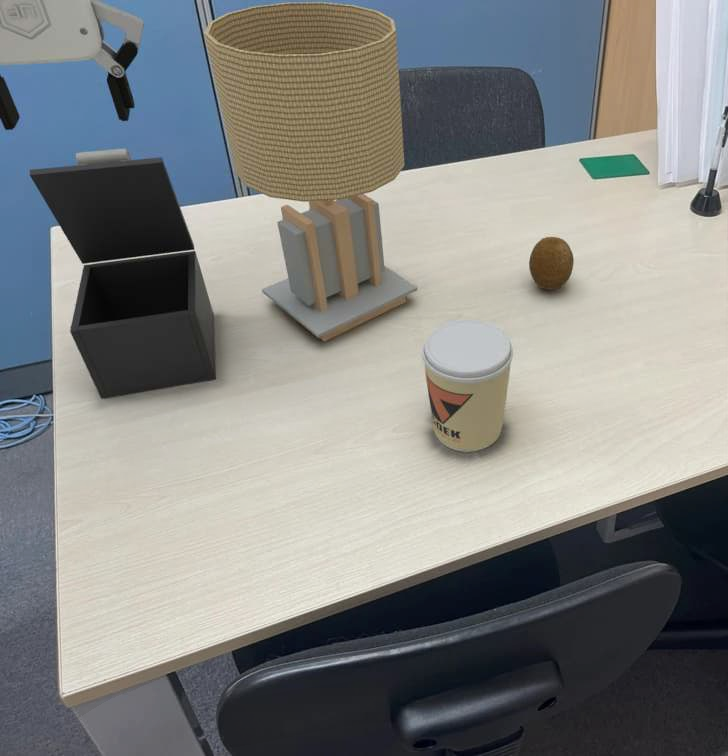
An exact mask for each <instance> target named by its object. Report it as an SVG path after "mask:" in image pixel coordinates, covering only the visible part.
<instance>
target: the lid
mask: <svg viewBox="0 0 728 756" xmlns="http://www.w3.org/2000/svg"><path fill="white" fill-rule="evenodd" d="M75 158H76V159H75V160H76V163H77V164H75V165H65V166H56V167H45V168H34V169H29V177H30V179H31V181H32V182H33V184H34V185H35V187H36V188H37V190H38V192H39V193H40V195H41V197H42V199H43V200H44V202H45V204H46V205H47V207H48V209H49V210H50V212H51V214H52V216H54V219H55V220H56V222H57V224H58V225H59V228H60V229H61V230H62V232H63V234H64V235H65V237H66V239H67V240H68V242H69V244H70V245H71V247H72V249H73V251H74V253H75V254H76V255H77V258H78V259H79V261H80V262H81V264H82V265H87V264H95V263H103V262H111V261H119V260H126V259H134V258H142V257H150V256H158V255H166V254H174V253H181V252H189V251H195V243H194V241H193V238H192V236H191V233H190V230H189V227H188V225H187V222H186V219H185V217H184V215H183V211H182V209H181V206H180V203H179V200H178V197H177V195H176V192H175V189H174V187H173V184H172V180H171V178H170V176H169V173H168V171H167V168H166V165H165V162H164V160H163V157H162V156H161V157H150V158H141V159H140V158H139V159H132V158H131V154H130V152H129V149H128V148H126V147H125V148H115V149H105V150H103V149H102V150H94V151H92V150H91V151H82V152H76V153H75Z"/></svg>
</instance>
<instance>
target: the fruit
mask: <svg viewBox="0 0 728 756" xmlns="http://www.w3.org/2000/svg"><path fill="white" fill-rule="evenodd" d="M573 254H574V253H573V251H572V249H571V247H570V244H568V243H567V241H565V240H564V239H563V238H560V237H557V236H546V237H544V238H543V237H542V239H540V240H539V241H538V242H537V243H536V244H534V247H533V248H532V250H531V254H530V256H529V262H528V268H529V272H530V276H531V278H532V280H533V282H534V283H535V284H536V285H537V286H538V287H539V288H541V289H545V290H557V289H560V288H561V287H563V286H564V285H565V284H566V283H567V282H568V281H569V279H570V278H571V275H572V273H573V268H574V263H575V261H574V259H575V257H574V255H573Z"/></svg>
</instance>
